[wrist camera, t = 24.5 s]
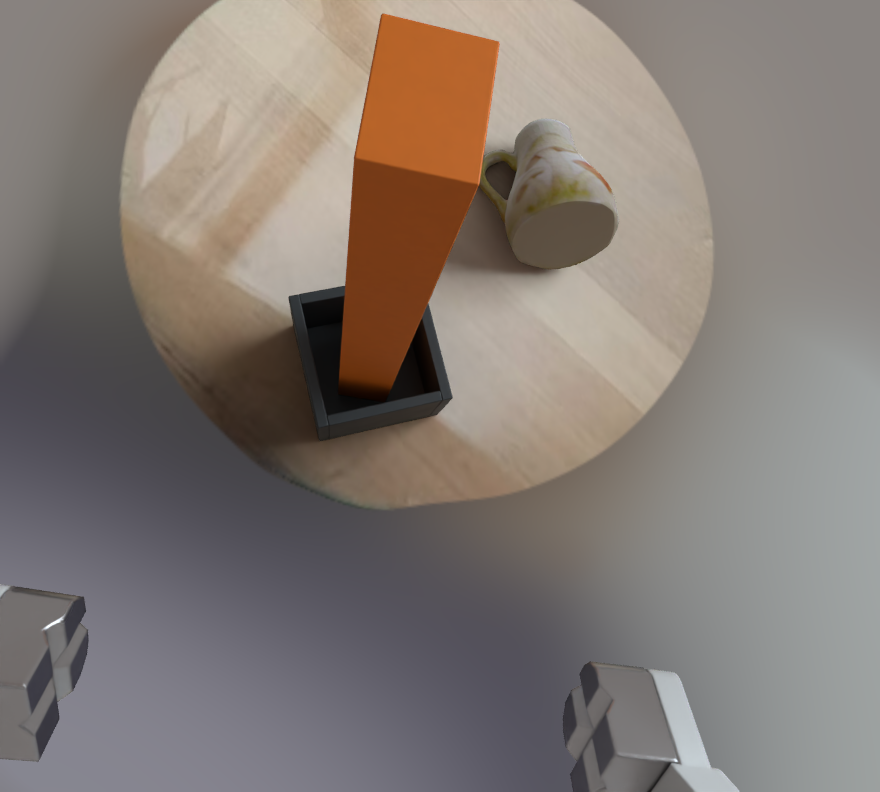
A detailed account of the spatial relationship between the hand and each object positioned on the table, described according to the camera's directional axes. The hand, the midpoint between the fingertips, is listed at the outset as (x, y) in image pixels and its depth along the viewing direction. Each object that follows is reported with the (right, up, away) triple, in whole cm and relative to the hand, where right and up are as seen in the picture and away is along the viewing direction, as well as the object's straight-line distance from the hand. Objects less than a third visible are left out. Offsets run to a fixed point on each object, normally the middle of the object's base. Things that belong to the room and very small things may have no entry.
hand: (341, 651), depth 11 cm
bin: (-3, +6, +33) cm, 34 cm away
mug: (+8, +18, +37) cm, 42 cm away
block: (-3, +6, +32) cm, 33 cm away
